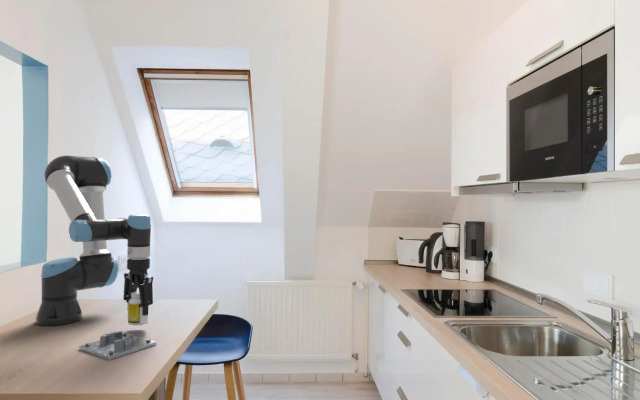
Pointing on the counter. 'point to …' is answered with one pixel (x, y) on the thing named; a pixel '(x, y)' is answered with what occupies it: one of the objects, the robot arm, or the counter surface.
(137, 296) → the pill bottle
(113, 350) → the collar
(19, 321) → the counter surface
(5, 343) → the counter surface
